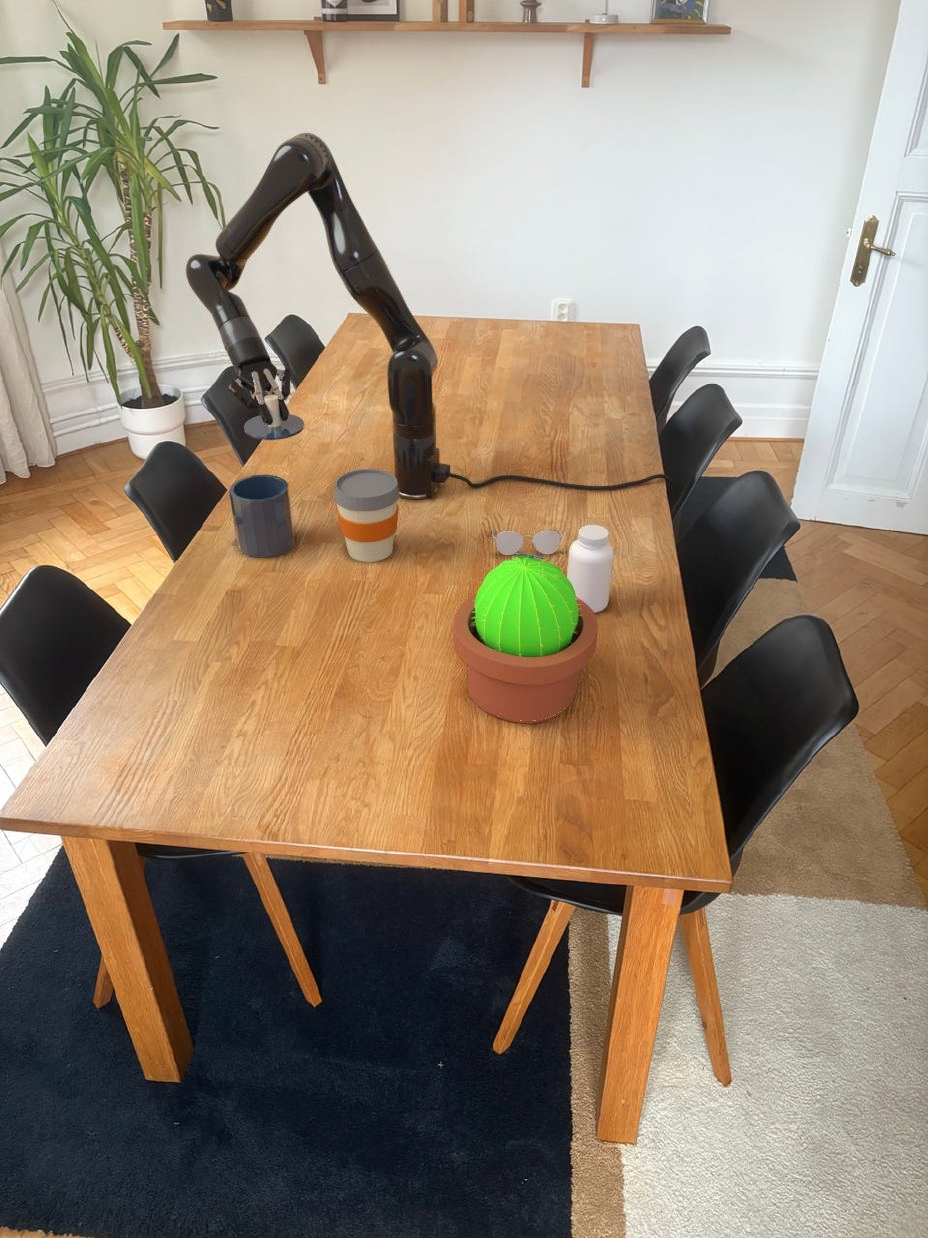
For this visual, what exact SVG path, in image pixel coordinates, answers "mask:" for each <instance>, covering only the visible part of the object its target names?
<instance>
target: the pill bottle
mask: <svg viewBox="0 0 928 1238" xmlns="http://www.w3.org/2000/svg"><path fill="white" fill-rule="evenodd" d="M609 538H610V533H609V530H608V529H607V528H606V527H604V526H602V525H598V524H586V525H583V526H582V527H580V528H579V530H578V536H577V539H576V540H574V541H573V542H572V543H571V545H570V547H569V550H568V558H567V559H568V561H567V573H566V577H567V578H568V579H569V581H570V580H571V581H570V582H571V584H572V586H573V588H574V590H575V589H576V590H575V594H576V597H577V598H579V599H581V600H582V601H583V602H585V603H586V604H587V605H588V606H589V607H590V608H591V609H592V610H593V612H594V613H595V614H596V613H599V612H602V611H603V610H605V609H606V608H607V606H608V604H609V600H610V592H611V584H612V574H613V566H614V557H615V556H614V555H615V552H614V548H613V546H612V545H611V544H610V543H609ZM572 579H573V580H574V581H573V580H572ZM572 582H573V583H572Z"/></svg>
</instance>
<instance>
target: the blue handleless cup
mask: <svg viewBox="0 0 928 1238" xmlns="http://www.w3.org/2000/svg"><path fill="white" fill-rule="evenodd" d="M228 492H229V493H228V494H229V500H230V505H231V513H232V519H233V524H234V525H233V526H234V531H235V539H236V544H237V547H238V549H239V551H240V553H242V554H243V555H245V556H248V557H251V558H259V559H263V558H264V559H265V558H272V557H277V556H280V555H283V554H285V553H287V552H288V551H290V550H291V549H292V548H293V547H294V545H295V531H294V522H293V515H292V514H293V513H292V505H291V495H290V488H289V483H288V482H287V481H286V480H285V479H284V478H282V477H280V476H277V475H273V474H253V475H249V476H245V477H242V478H239V479H237V480H236V481H234V482H233V483H232V484H231V485H230V486H229V491H228Z"/></svg>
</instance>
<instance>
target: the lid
mask: <svg viewBox="0 0 928 1238" xmlns="http://www.w3.org/2000/svg"><path fill="white" fill-rule="evenodd" d="M263 399H264V405H265V404H266V405H267V407H268V410H269V412H270V414H271V416H272V419H273V422H272V424H271V425H267V423H264V422H263V420H262V418H261V416H260V414H259V415H256V416H254V417H252V418H249V419H248V420H247V421H246V422H244V425H243V430H244V433H245V434H246V435H247V436H249V437H251V438H253V439H257V440H262V441H277V440H284V439H288V438H292V437H294V436H297V435H299V434H300V433H302V432H303V430H304V429H305V421H304V419H302V418H301V417H300V416H298V415H295V414H292V413H289V416H288V419H287V420H286V421H282V419H281V417H280V410H279V401H278V396H277V395H268V394H267V395H265V396H263Z"/></svg>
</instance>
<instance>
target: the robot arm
mask: <svg viewBox="0 0 928 1238" xmlns="http://www.w3.org/2000/svg"><path fill="white" fill-rule="evenodd" d="M306 193H307V194H308V196H309V197H310V199H311V201H312V202H313V204H314V206H315V207H316V210H317V211H318V213H319V217H320V218H321V221H322V225H323V228H324V232H325V237H326V242H327V247H328V252H329V255H330V258H331V261H332V264H333V267H334V269H335V271H336V272H337V274H338V276H339V278H340V280H341V281H342V284H343V285H344V287H345V288H346V290H347V292H348V294H349V295H350V297H351V298H352V299H353V300H354V301H355V302H356V304H358V306H359V307H361V309H363V311H365V312H366V313H367V314H368V315H369V316H370V317H371V318H372V319H373V320H374V321H375V322H376V324H377V325H378V327H379V328H380V329H381V331H382V333H383V335H384V336H385V339H386V341H387V342H388V345H389V347H390V350H391V352H392V354H391V356H390V357H389V360H388V362H387V367H386V368H387V369H386V371H387V372H386V373H387V374H386V375H387V376H386V377H387V392H388V403H389V404H388V405H389V408H390V410H391V416H392V417H391V419H392V441H393V467H394V476H395V477H396V479H397V482H398V488H399V497H401V498H404V499H407V500H424V499H430V500H431V499H433V497H434V496H435V495H436V493H437V492H438V490H439V489H440V488H441V484H445V483H446V482H447V481H448V479H449V478H451V479H456V480H460V481H461V482H464V483H466V484H467V485H468V486H469V487H470V488H475V489H478V488H482V487H484V486H487V485H490V484H492V483H494V482H497V481H501V480H518V481H519V480H521V481H527V482H533V483H539V484H545V485H552V486H555V487H564V488H568V489H569V488H570V489H578V490H579V489H580V490H588V491H589V490H592V491H605V490H606V491H607V490H608V491H609V490H617V489H623V488H627V487H630V486H631V487H632V486H636V485H642V484H644V483H648V482H650V481H653V480H656V479H664V480H666V481H667V482H672V481H673V479H672V478H671V477H670V476H669V475H668V474H664V473H658V474H653V475H650V476H648V477H645V478H642V479H638V480H633V481H628V482H624V483H623V482H622V483H618V484H611V485H585V484H575V483H568V482H561V481H555V480H551V479H545V478H544V479H543V478H537V477H529V476H523V475H517V474H516V475H515V474H505V475H498V476H494V477H492V478H489V479H488V480H485V481H483V482H480V483H479V482H478V483H473V482H472V481H471V480H470V479H469V478H467V477H466V476H463V475H460V474H456V473H452V472H451V465H450V464H447V463H440V461H441V460H440V459H441V458H440V448H439V447H437V408H436V405H435V403H434V401H433V400H434V399H433V376H434V375H435V373H436V370H437V368H438V363H439V361H438V353H437V351H436V348H435V346H434V345H433V344H432V342H431V340H430V338H429V337H428V335H427V334H426V333H425V331H424V330H423V328H422V327H421V326H420V324H419V323H418V321H417V319H416V318H415V316H414V315H413V313H412V312H411V310H410V308H409V306H408V305H407V302H406V300H405V298H404V296H403V294H402V292H401V290H400V288H399V286H398V284H397V283H396V280H395V278H394V276H393V275H392V273H391V271H390V268H389V266H388V264H387V262H386V261H385V258H384V257H383V255H382V253H381V251H380V249H379V247H378V246H377V244H376V242H375V241H374V239H373V237H372V235H371V233H370V232H369V229H368V228H367V226H366V224H365V222H364V220H363V218H362V217H361V215H360V213H359V211H358V209H357V207H356V205H355V204H354V202H353V200H352V197H351V195H350V194H349V191H348V189H347V187H346V184H345V182H344V179H343V177H342V175H341V172H340V170H339V168H338V165H337V162H336V160H335V158H334V156H333V153H332V151H331V150H330V148H329V147H328V145H327V144H326V142H325V141H324V140H323V139H322V138H321V137H319V136H318V135H316V134H315V133H311V132H301V133H299V134H296V135H294V136H293V137H290V138H288V139H286V140H285V141H283V142H282V143H281V144H280V145H279V146H278V147H277V148H276V150H275V151H274V154H273V156H272V158H271V159H270V161H269V163H268V165H267V167H266V168H265V171H264V173H263V175H262V176H261V178H260V180H259V182H258V184H257V186H256V187H255V189H254V190H253V191H252V193H251V194H250V196H249V197H248V199H246V201H245V202H244V203H243V204H242V205H241V207H240V208H239V209H238V211H237V212H236V213H235V214H234V216H233V217H232V218H231V219H230V220H229V221H228V223H227V224H226V225H225V227H223V228H222V230H221V231H220V233H219V234H218V235H217V237H216V239H215V244H214V245H215V249H216V252H217V253H218V255H211V254H204V253H196V254H194V255H192V256H190V257H189V258H188V260H187V261H186V265H185V276H186V280H187V282H188V285H189V287H190V289H191V290H192V292H193V293H194V294H195V295H196V297H197V298H198V299H199V301H200V302H201V304H202V305H203V306H204V307H205V309H206V310H207V311H208V312H209V313H210V315H211V317H212V319H213V321H214V324H215V326H216V328H217V330H218V333H219V336H220V339H221V342H222V344H223V348H224V350H225V351H226V353H227V355H228V358H229V360H230V362H231V364H232V367H233V369H234V371H235V373H236V379H235V380H231V381H230V384H229V386H228V391H229V392H230V393H231V394H232V395H233V396H234V397H235V398H236V399H237V400H238V401H239V402H240V403H242V405H243V406H244V407H245V408H247V409H248V410H251V409H255V410H257V412H258V414H259V415H260V416H261V418H262V420H263V422H264V423H267V425H271V424H272V422H273V419H272V416H271V414H270V412H269V410H268V407H267V405H266V404H265V402H264V396H263V392H266V393H267V395H277V396H278V401H279V410H280V417H281V419H282V421H286V420H287V419H288V416H289V414H290V411H289V408H288V406H287V404H286V402H285V401H286V400H287V399H288V398H289V396H290V395H291V369H289V368H284V369H278V368H277V367H276V365H274V363H272V360H271V357H270V355H269V353H268V350H267V348H266V346H265V344H264V342H263V339H262V337H261V335H260V332H259V330H258V328H257V327H256V325H255V323H254V322H253V320H252V318H251V315H250V314H249V311H248V309H247V306H246V304H245V303H244V301H243V299H242V298H241V297H240V296H239V295H238V294H236V293H234V292H231V290H233V289H235V288H236V286H237V285H238V283H239V281H240V279H241V277H242V275H243V272H244V269H245V267H246V265H247V261H249V259H250V258H251V257H252V256H253V254H254V253H255V252H257V250H258V249H259V247H260V246H261V245H262V244H263V242H264V241H265V239H266V238H267V237H268V235H269V233H270V231H271V229H272V227H273V226H274V224H275V222H276V221H277V220H278V218H279V217H280V216H281V214H282V213H283V212H284V211H285V210H286V209H287V208H288V207H289V206H290V205H292V204H293V203H294V202H295V201H296V200H298V199H299V198H300V197H302V196H303V195H304V194H306ZM276 378H278V381H279V382H281V387H279V385H278V383H277V381H276ZM243 387H244V388H246V389H247V390H249V391H250V394H249V393H248V392H247V391H246V390H245V389H244V388H243ZM280 389H281V390H280Z"/></svg>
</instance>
